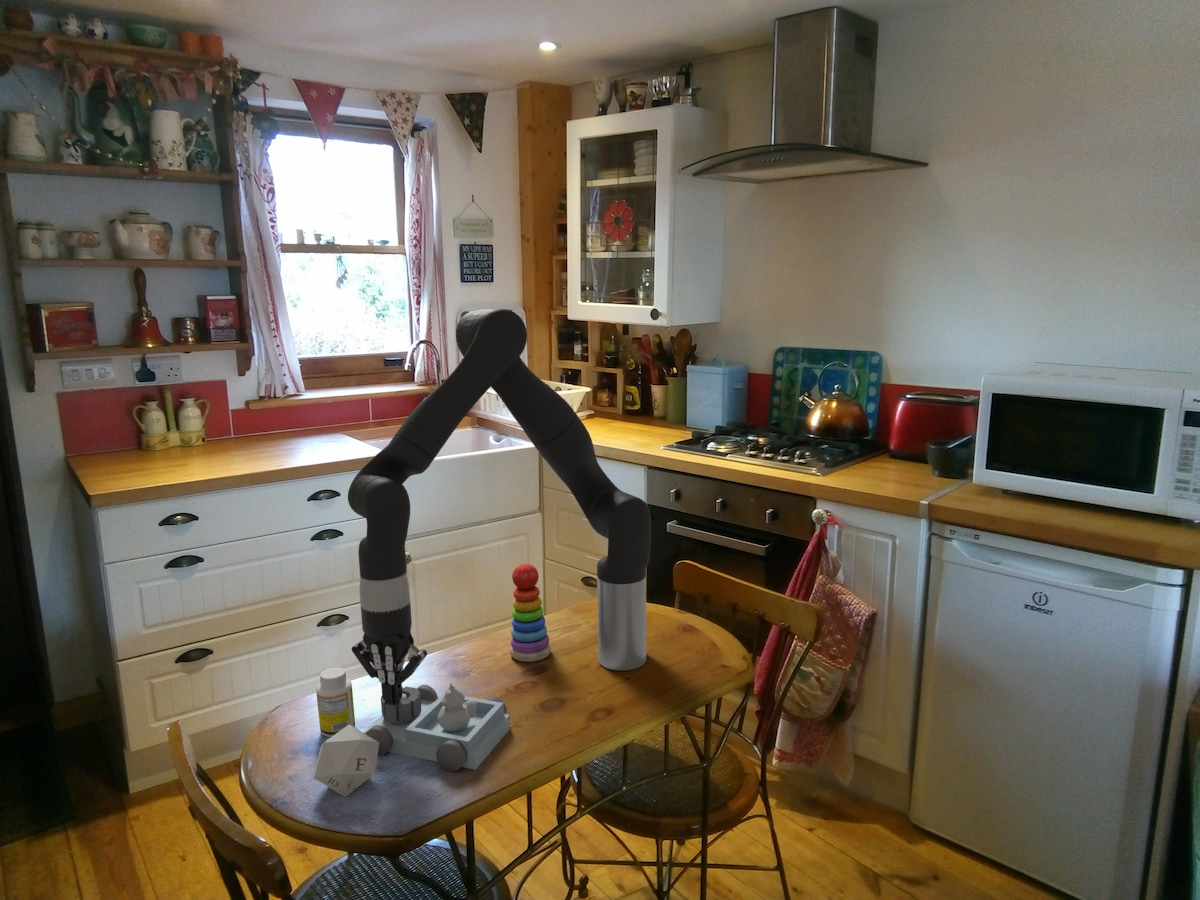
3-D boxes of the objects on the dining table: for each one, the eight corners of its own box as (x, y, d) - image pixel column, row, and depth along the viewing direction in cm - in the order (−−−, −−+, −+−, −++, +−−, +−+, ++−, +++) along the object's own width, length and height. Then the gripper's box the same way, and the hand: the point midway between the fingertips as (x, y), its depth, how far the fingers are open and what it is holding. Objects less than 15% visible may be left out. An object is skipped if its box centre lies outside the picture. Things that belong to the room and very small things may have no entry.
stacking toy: (532, 642, 166) (529, 554, 162) (559, 654, 161) (556, 563, 157) (501, 655, 161) (498, 564, 157) (528, 667, 155) (525, 574, 151)
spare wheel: (396, 701, 137) (395, 684, 137) (427, 706, 135) (426, 689, 135) (375, 718, 132) (374, 701, 131) (407, 725, 130) (406, 707, 129)
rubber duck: (432, 725, 131) (429, 679, 129) (471, 713, 134) (469, 668, 133) (444, 741, 126) (441, 693, 125) (484, 728, 130) (482, 682, 128)
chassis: (409, 705, 142) (407, 672, 141) (514, 723, 136) (512, 689, 134) (356, 752, 128) (353, 716, 127) (470, 775, 122) (468, 738, 120)
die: (308, 809, 116) (337, 768, 112) (301, 752, 122) (329, 711, 118) (364, 806, 121) (394, 767, 117) (355, 752, 127) (383, 713, 123)
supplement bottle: (336, 718, 138) (331, 662, 136) (362, 724, 136) (357, 668, 134) (312, 735, 133) (307, 677, 131) (339, 742, 131) (334, 683, 129)
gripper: (435, 596, 129) (441, 697, 132) (363, 587, 133) (371, 685, 136) (409, 614, 122) (415, 721, 125) (334, 604, 126) (343, 707, 129)
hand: (392, 702), depth 131 cm, fingers closed
